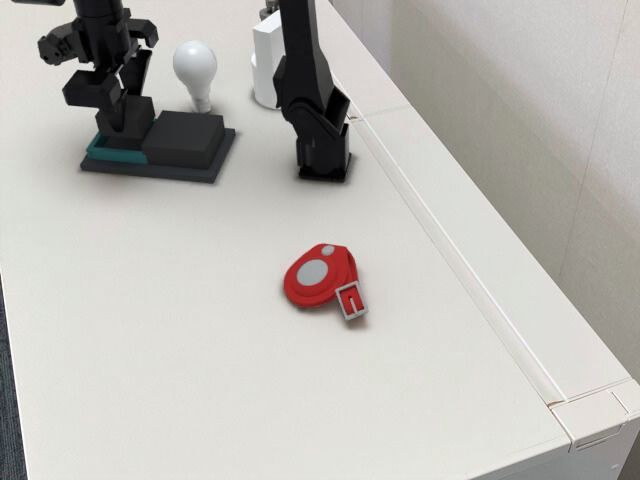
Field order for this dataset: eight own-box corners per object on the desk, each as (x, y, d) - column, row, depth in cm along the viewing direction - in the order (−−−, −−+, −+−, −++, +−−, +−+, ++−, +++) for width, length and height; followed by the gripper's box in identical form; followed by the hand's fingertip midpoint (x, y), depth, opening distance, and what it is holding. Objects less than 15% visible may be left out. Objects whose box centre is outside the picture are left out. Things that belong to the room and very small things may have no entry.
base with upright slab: (276, 73, 125) (270, -1, 116) (323, 88, 121) (321, 13, 112) (243, 99, 119) (234, 23, 110) (291, 115, 116) (286, 38, 107)
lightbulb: (221, 124, 115) (210, 54, 107) (178, 123, 115) (164, 53, 107) (226, 101, 119) (216, 32, 111) (185, 100, 119) (172, 32, 111)
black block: (156, 115, 109) (151, 96, 107) (141, 139, 105) (136, 119, 103) (115, 112, 110) (110, 92, 108) (99, 135, 106) (94, 116, 104)
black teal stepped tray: (235, 134, 113) (232, 110, 110) (213, 183, 105) (208, 158, 102) (112, 123, 115) (106, 99, 112) (81, 170, 107) (73, 145, 104)
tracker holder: (266, 295, 89) (302, 229, 93) (281, 317, 93) (315, 252, 97) (357, 311, 83) (391, 240, 87) (369, 334, 87) (401, 265, 91)
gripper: (68, -29, 102) (97, 80, 114) (3, 38, 90) (44, 152, 102) (148, -24, 101) (169, 86, 113) (94, 45, 89) (124, 159, 101)
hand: (127, 118), depth 107 cm, fingers closed on black block, 6 cm apart
